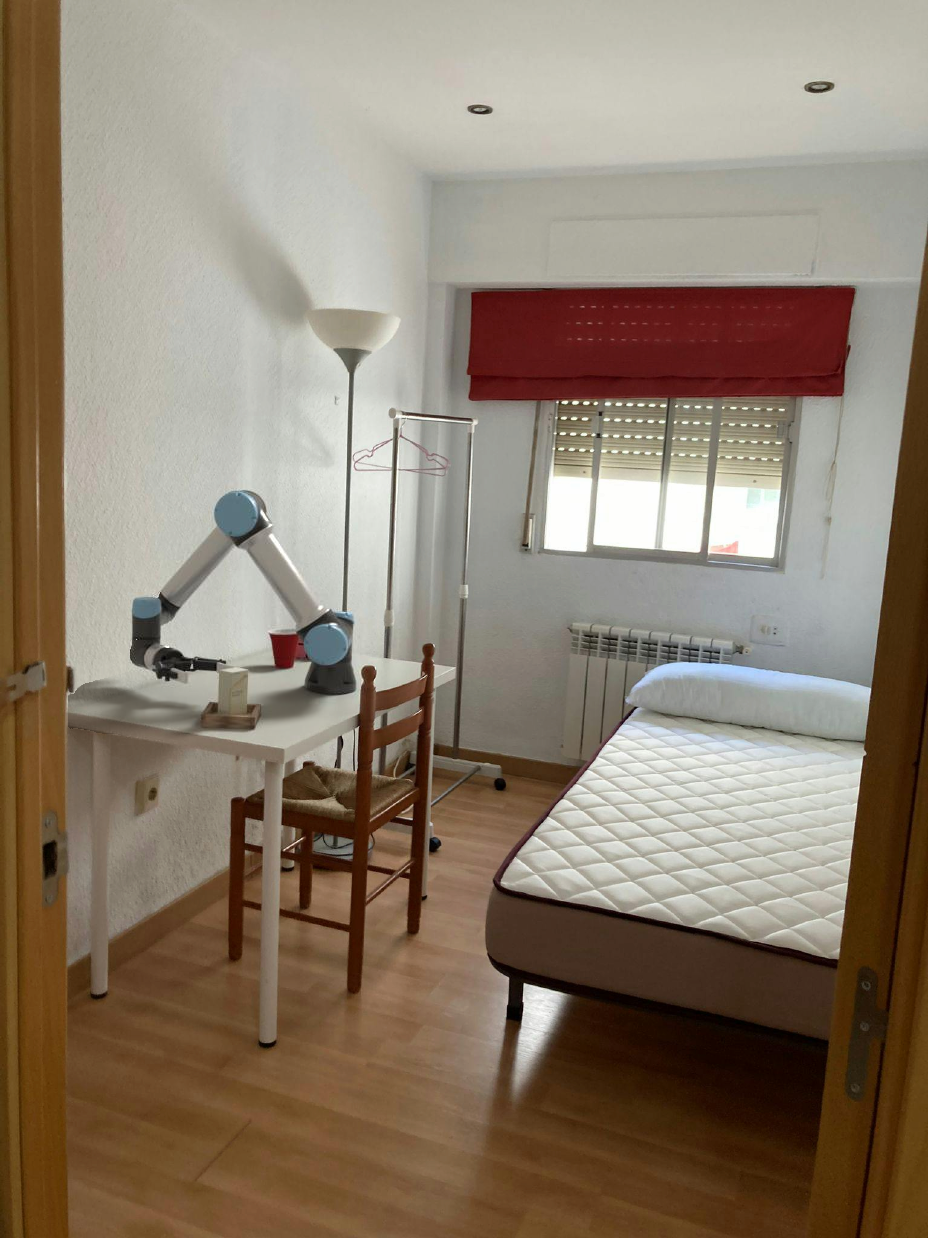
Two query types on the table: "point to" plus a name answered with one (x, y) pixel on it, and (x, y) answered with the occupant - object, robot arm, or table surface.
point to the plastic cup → (284, 647)
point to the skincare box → (233, 691)
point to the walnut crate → (230, 717)
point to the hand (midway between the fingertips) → (210, 675)
